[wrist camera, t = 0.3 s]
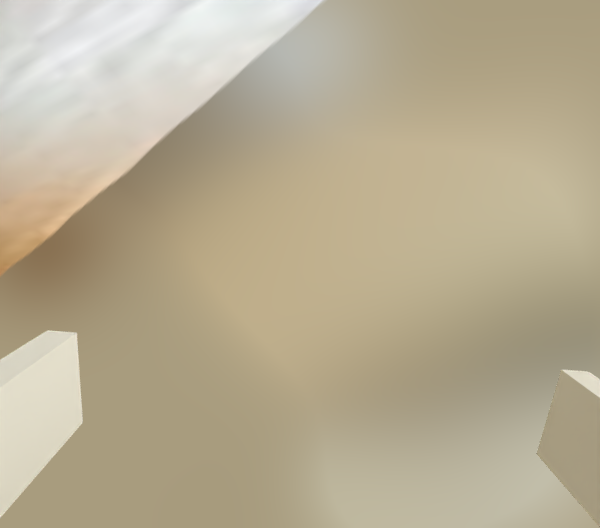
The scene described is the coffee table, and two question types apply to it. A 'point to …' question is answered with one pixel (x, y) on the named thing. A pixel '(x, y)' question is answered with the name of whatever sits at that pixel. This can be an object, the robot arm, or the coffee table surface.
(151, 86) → the coffee table surface
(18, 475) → the robot arm
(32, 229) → the coffee table surface
